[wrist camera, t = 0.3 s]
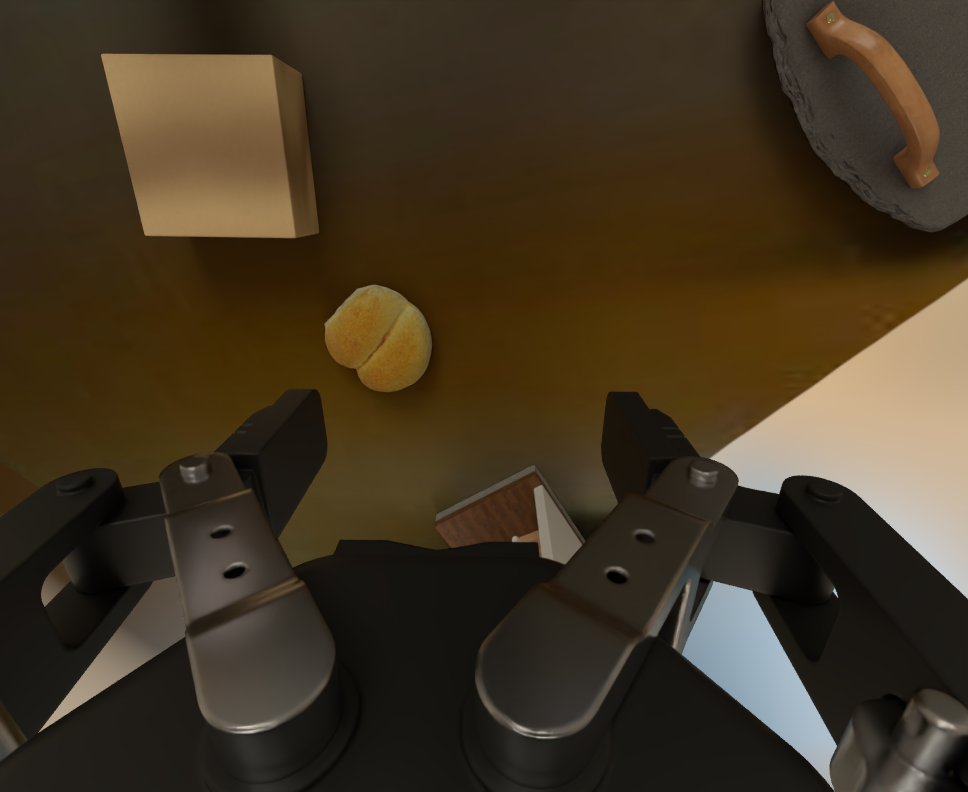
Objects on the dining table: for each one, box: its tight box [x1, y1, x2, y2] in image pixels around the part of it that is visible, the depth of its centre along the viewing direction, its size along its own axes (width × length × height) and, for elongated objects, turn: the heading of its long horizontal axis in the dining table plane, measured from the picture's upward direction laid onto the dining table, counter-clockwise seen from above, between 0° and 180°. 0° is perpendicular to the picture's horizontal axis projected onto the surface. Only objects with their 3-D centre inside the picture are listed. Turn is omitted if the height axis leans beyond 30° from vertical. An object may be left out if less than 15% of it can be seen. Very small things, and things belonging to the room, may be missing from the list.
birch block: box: [101, 54, 319, 238], centre depth 35 cm, size 11×11×5 cm
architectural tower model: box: [434, 464, 585, 564], centre depth 33 cm, size 11×11×35 cm
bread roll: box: [324, 285, 432, 392], centre depth 40 cm, size 8×9×4 cm
